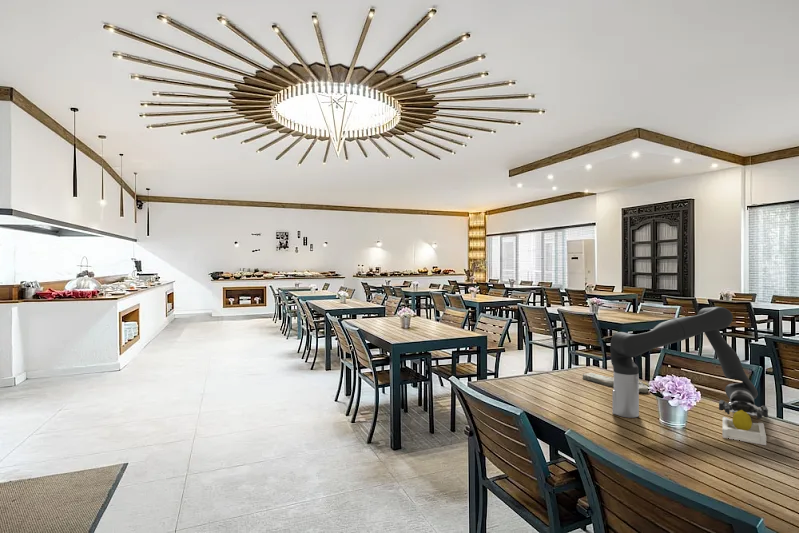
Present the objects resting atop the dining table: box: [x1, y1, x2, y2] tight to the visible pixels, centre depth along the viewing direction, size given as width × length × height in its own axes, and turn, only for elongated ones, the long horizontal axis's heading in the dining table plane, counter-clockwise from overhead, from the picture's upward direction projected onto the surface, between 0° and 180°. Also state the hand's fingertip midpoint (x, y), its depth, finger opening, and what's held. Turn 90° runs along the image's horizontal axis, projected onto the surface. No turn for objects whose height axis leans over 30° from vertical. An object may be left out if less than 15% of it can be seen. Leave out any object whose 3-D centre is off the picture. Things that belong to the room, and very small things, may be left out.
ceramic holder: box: [721, 416, 767, 446], centre depth 161 cm, size 12×15×3 cm
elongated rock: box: [582, 372, 649, 394], centre depth 226 cm, size 35×5×10 cm
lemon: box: [732, 410, 753, 431], centre depth 161 cm, size 6×6×8 cm
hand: (743, 413), depth 159 cm, fingers open, 8 cm apart
